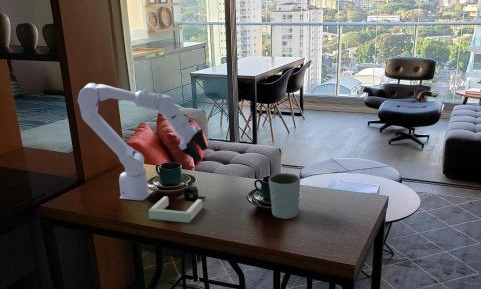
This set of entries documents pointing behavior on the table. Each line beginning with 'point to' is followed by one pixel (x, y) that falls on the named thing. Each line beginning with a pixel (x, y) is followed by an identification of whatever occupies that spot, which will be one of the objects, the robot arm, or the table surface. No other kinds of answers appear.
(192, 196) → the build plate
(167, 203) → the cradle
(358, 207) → the table surface
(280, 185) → the pale green cup
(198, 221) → the table surface
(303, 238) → the table surface
